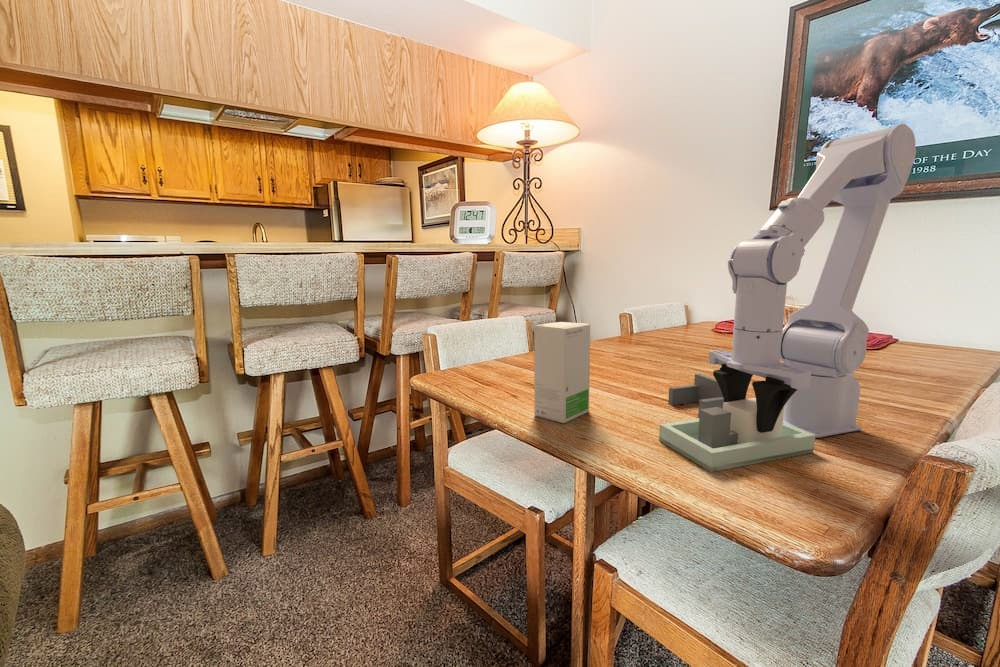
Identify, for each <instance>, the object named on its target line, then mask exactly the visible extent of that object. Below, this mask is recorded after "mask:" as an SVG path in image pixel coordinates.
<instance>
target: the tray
mask: <svg viewBox="0 0 1000 667" xmlns="http://www.w3.org/2000/svg"><path fill="white" fill-rule="evenodd" d="M658 432H659V437H658V441H659V442H661V443H662V442H663V443H662V444H664V445H666V446H667V447H669V448H671V449H672V450H673V451H676V452H677V453H679V454H680V455H682V456H683V457H686V458H687V459H688V460H691V461H692V462H694V463H695V464H697V465H699V466H700V467H701V468H704V469H705V470H707V471H708V472H710V473H713V472H718V471H724V470H729V469H734V468H735V469H736V468H739V467H745V466H749V465H754V464H760V463H767V462H771V461H775V460H776V459H777V460H782V459H786V458H791V456H792V457H795V456H796V455H797V456H802V455H801V454H803V455H807V453H808V454H811V453H812V452H813V453H814V450H815V442H816V437H815V435H814V434H812V433H809V432H807V431H804V430H801V429H799V428H796V427H794V426H791V425H788V424H786V423H783V427H782V437H777V438H772V439H766V440H760V441H754V442H748V443H743V444H732V445H729V446H725V447H719V448H714V449H712V448H711V447H709V446H707V445H705V444H703V443H701V442H699V441H698V433H699V418H693V419H686V420H680V421H673V422H666V423H660V424H659V431H658ZM797 456H796V457H797Z"/></svg>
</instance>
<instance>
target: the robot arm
mask: <svg viewBox="0 0 1000 667" xmlns="http://www.w3.org/2000/svg"><path fill="white" fill-rule="evenodd" d="M916 155H917V148H916V137H915V133H914V131H913V130H912V129H911V127H910V126H908V125H907V124H904V123H901V124H899V123H898V124H896V125H894V126H892V127H889V128H884V129H883V128H882V129H878V130H874V131H871V132H864V133H861V134H856V135H851V136H848V137H844V138H838V139H835V138H834V139H830V140H828V141H826V142H825V143H824V144H823V145H822V147H821V149H820V150H819V151H818V152H817V153H816V159H815V170H814V172H813V173H812V175H811V176H810V178H809V179H808V181H807V183H806V184H805V185H804V187H803V188H802V190H801V191H800V193H799V195H798V196H797V197H792V198H788V199H785V200H781V201H780V203H779V204H778V206H777V208H776V210H775V211H774V212H773V213H772V215H771V216H770V217H769V218H768V219H767V220H766V222H765V223H764V224H763V225H762V227H761V228H760V229H759V230H758V231H757V233H756V234H754V236H753V238H752V239H745V240H743V241H742V242H741V243H739V244H738V245H736V246H735V247H734V249H733V250H732V253H731V255H730V259H728V260H727V269H728V273H729V275H730V277H731V281H732V286H731V288H732V289H731V290H733V292H732V293H733V294H735V305H734V306H735V307H734V320H733V332H732V344H731V345H732V346H731V351H725V350H722V349H718V350H717V349H715V350H709V352H708V364H710V365H718V366H720V367H719V369H715V370H713V372H712V375H713V378H714V379H716V381H717V383H718V385H719V387H720V389H721V392H722V395H723V399H724V402H730V401H737V400H743V399H747V393H748V390H749V386H750V383H751V380H752V378H753V376H757V377H761V378H764V380H756V381H752V383H751V386H752V389H753V392H754V396H755V397H754V398H756V403H757V417H756V424H757V431H758V432H761V433H764V432H770V431H773V429H774V426H775V424H776V421H777V419H778V417H779V414H780V412H781V411H782V409H783V407H784V415H783V423H786V424H788V425H791V426H794V427H796V428H799V429H801V430H804V431H807V432H809V433H812V434H814V435H815V438H822V437H823V438H824V437H828V436H829V437H830V436H833V435H834V436H835V435H841V434H844V433H845V434H847V433H851V432H857V431H861V430H862V429H863V426H861V425H859V424H857V418H858V411H859V410H858V409H859V403H860V396H861V395H860V394H861V385H860V381H859V380H858V378H857V376H856V375H854V372H856V371H857V370H858V369H859V368H860V367H861V366H862V364H864V361H865V357H866V354H867V341H868V337H869V334H870V333H869V332H870V329H869V327H868V324H866V323H865V321H864V320H863V319H862V318H860V316H858V315H857V314H856V313H855V312H854V311H853V308H854V306H855V303H856V300H857V297H858V294H859V291H860V289H861V286H862V283H863V280H864V277H865V275H866V274H865V273H866V272H867V268H868V265H869V262H870V260H871V257H872V255H873V251H874V248H875V246H876V242H877V239H878V237H879V234H880V231H881V229H882V228H881V227H882V225H883V222H884V219H885V218H886V213H887V211H888V208H889V205H890V202H891V200H892V199H893V198H895V197H897V196H898V195H900V194H901V193H902V192H904V189H905V186H906V183H907V181H908V179H909V176H910V174H911V171H912V167H913V165H914V163H915V160H916V159H915V158H916ZM832 201H834V202H835V203H838V204H840V205H842V206H843V210H842V213H841V216H840V218H839V219H840V220H839V222H838V224H837V228H836V230H835V233H834V236H833V240H832V242H831V244H830V248H829V251H828V254H827V256H826V260H825V262H824V266H823V267H822V270H821V274H820V276H819V279H818V283H817V285H816V287H815V290H814V293H813V296H812V299H811V301H810V303H809V304H807V305H805V306H803V307H801V308H798V309H797V310H795V311H793V312H792V313H790V315H789V317H788V320H787V322H786V323H785V325H784V318H785V309H786V308H785V307H786V299H787V288H788V283H789V282H791V281H792V280H793V279H794V278H795V277H796V276H797V275H798V273H799V271H800V267H801V262H802V258H803V256H804V255H805V252H806V249H805V247H806V245H807V244H809V242H810V240H811V239H812V238H813V237H814V235H815V234H816V233H817V232H818V230H819V229H820V228H821V226H822V225H823V223H825V222H824V221H825V214H824V209H825V208H826V207H827V206H828V205H829V204H830V203H831V202H832ZM780 360H781V361H780Z"/></svg>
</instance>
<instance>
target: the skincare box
mask: <svg viewBox="0 0 1000 667" xmlns="http://www.w3.org/2000/svg"><path fill="white" fill-rule="evenodd" d="M533 335H534V336H533V338H534V342H533V344H534V346H533V347H534V348H533V349H534V350H533V353H534V354H533V356H534V358H533V360H534V362H533V363H534V364H533V368H534V373H533V375H534V385H533V386H534V388H533V390H534V394H533V395H534V396H533V397H534V399H533V400H534V404H533V406H534V407H533V408H534V409H533V412H534V414H533V415H534V416H535V417H539V418H542V419H545V420H549V421H553V422H556V423H560V424H565V423H568V422H570V421H572V420H575V419H577V418H578V417H581V416H583V415H585V414H587V413H590V378H591V377H590V376H591V375H590V374H591V373H590V372H591V371H590V369H591V368H590V366H591V363H590V362H591V360H590V359H591V324H590V323H585V322H584V323H583V322H569V321H558V322H557V321H556V322H549V323H547V322H546V323H541V324H535V325H534V326H533Z"/></svg>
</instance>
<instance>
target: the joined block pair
mask: <svg viewBox="0 0 1000 667" xmlns="http://www.w3.org/2000/svg"><path fill="white" fill-rule="evenodd" d="M783 415H784V407H783V409H782V411H781V412H780V414H779V417H778V419H777V421H776V424H775V426H774V429H773V431H770V432H764V433H761V432H758V431H757V424H756V417H757V403H756V397H752V398H746V399H743V400H737V401H730V402H724V403H723V409H722V408H719V407H713V408H707V409H700V414H699V417H698V419H699V433H698V441H699V442H701V443H703V444H705V445H707V446H709V447H711V448H712V449H714V448H719V447H725V446H729V445H732V444H743V443H748V442H754V441H760V440H766V439H772V438H777V437H782V427H783Z"/></svg>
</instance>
